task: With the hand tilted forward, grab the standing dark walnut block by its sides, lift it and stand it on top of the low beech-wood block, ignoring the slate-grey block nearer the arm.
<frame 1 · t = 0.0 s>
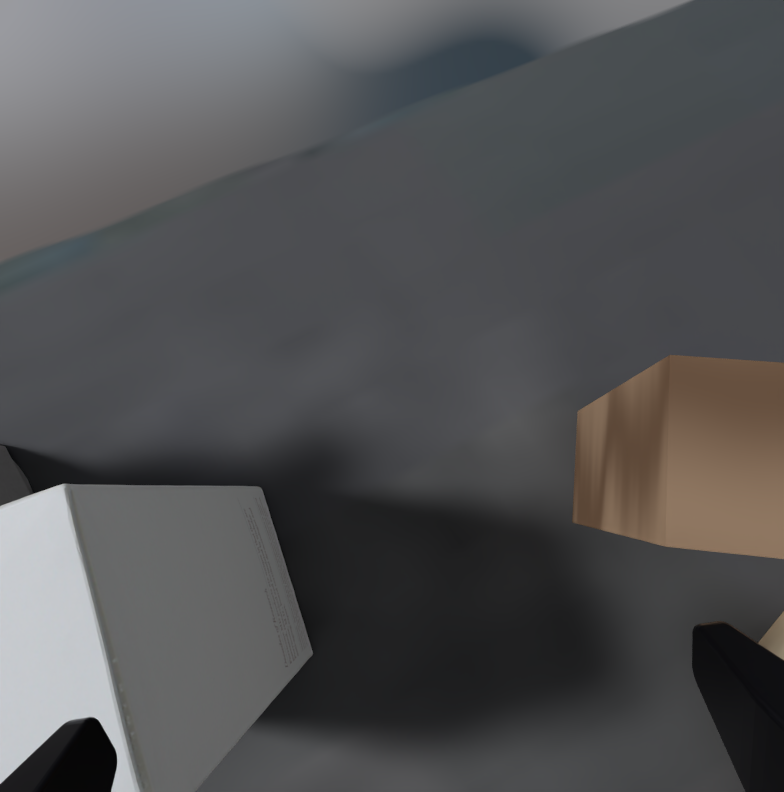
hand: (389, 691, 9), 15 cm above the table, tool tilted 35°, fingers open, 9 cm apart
supplement box: (209, 595, 24), on the table
walnut block: (639, 471, 23), on the table
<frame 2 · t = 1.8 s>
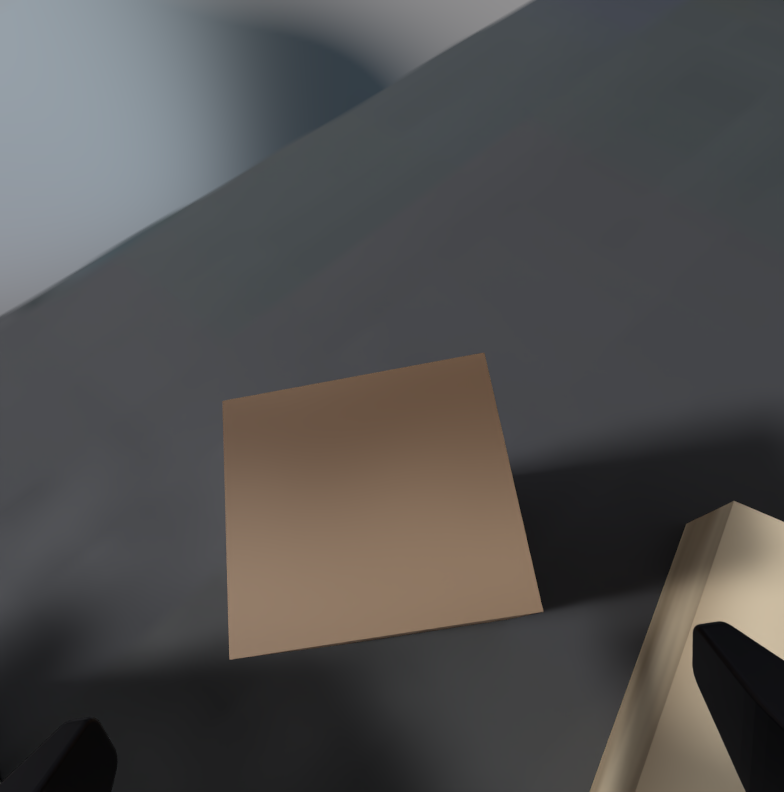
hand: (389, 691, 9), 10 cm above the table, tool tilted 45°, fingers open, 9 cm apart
walnut block: (417, 558, 19), on the table
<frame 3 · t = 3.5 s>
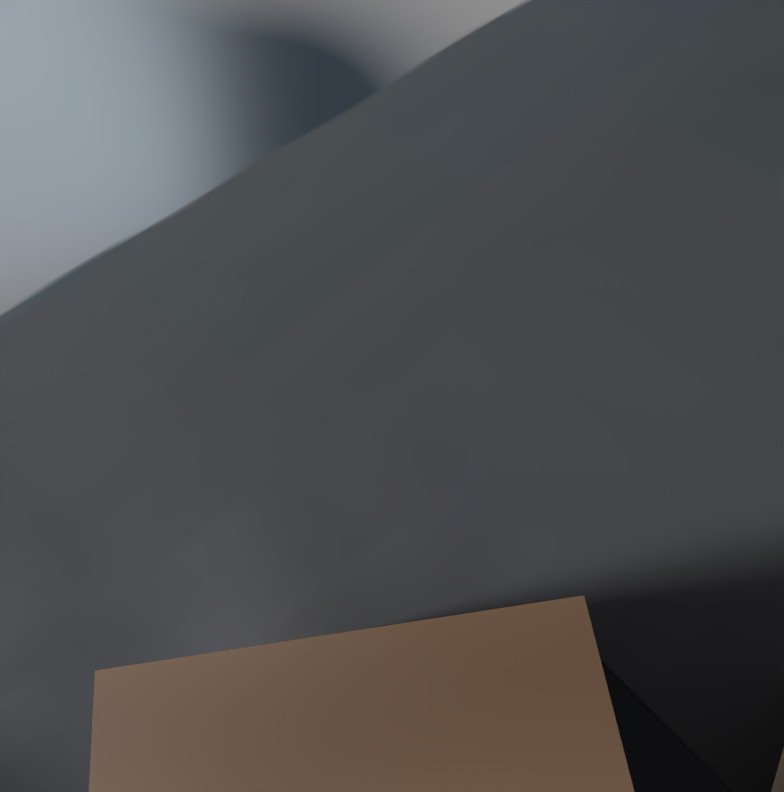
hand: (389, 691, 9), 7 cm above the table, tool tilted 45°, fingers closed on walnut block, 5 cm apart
walnut block: (433, 724, 14), on the table, touching gripper
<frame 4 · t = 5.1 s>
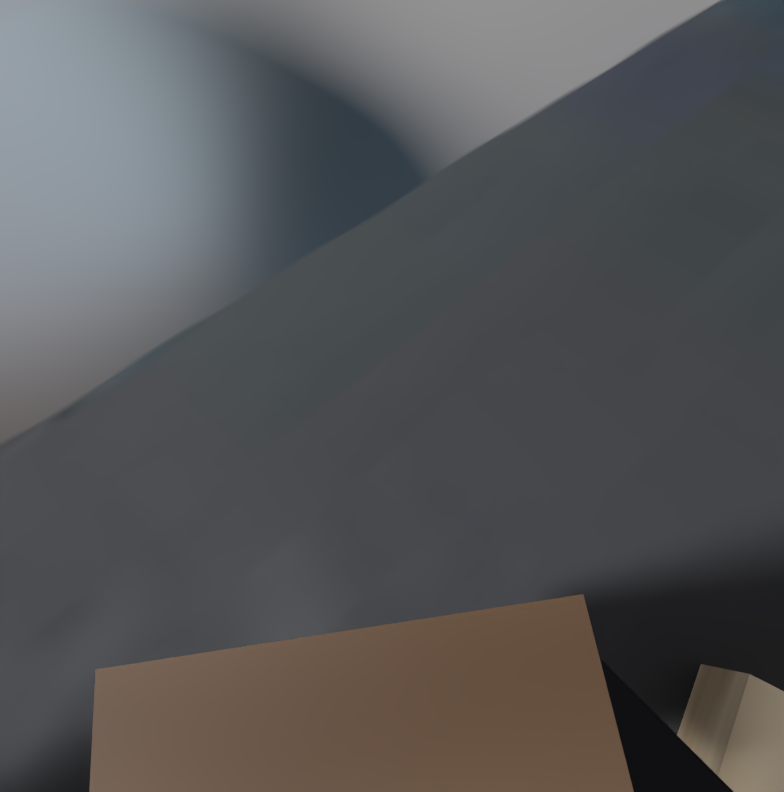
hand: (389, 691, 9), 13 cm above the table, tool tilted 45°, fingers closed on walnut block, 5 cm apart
walnut block: (433, 723, 14), point 6 cm above the table, touching gripper
when the fingers open (12 cm above the table, at t = 7.0 s): walnut block drops 2 cm, resting on beech block.
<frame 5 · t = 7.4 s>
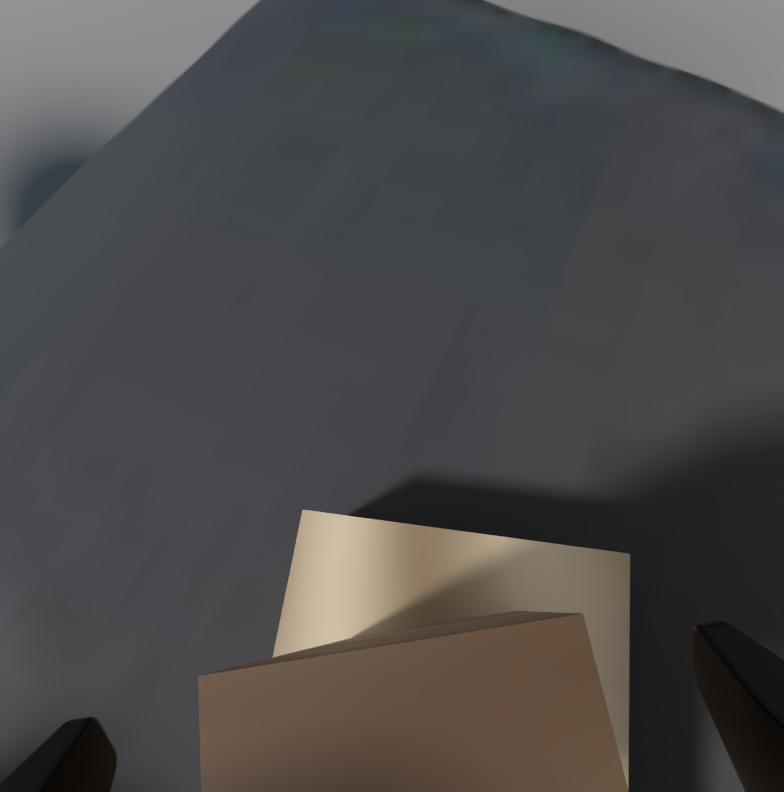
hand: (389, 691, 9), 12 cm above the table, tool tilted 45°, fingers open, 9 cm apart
beech block: (444, 695, 20), on the table, touching walnut block
walnut block: (447, 711, 16), point 4 cm above the table, touching beech block
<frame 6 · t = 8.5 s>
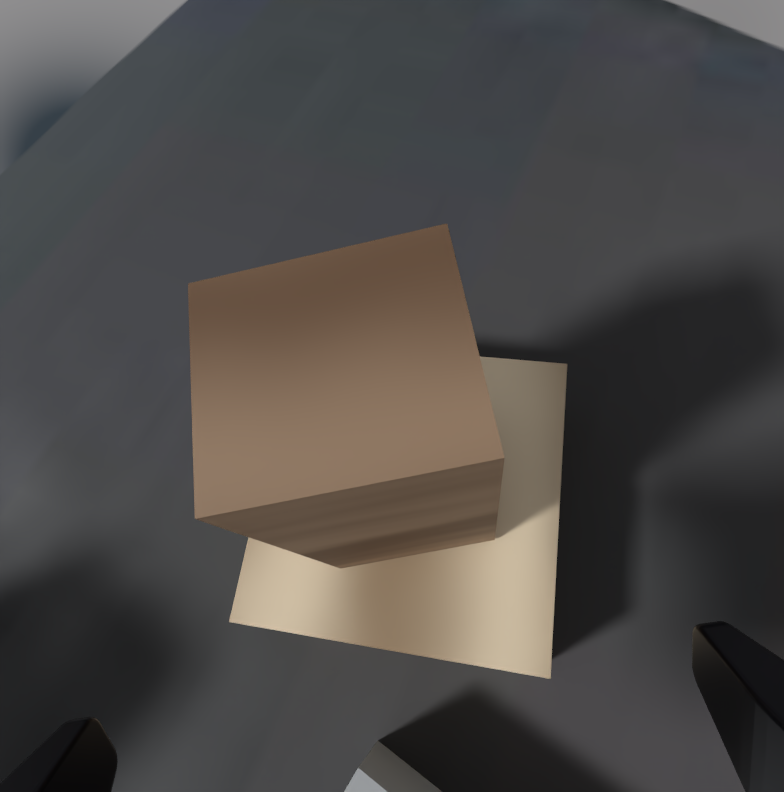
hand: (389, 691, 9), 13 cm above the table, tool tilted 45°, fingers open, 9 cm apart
beech block: (416, 507, 23), on the table
walnut block: (404, 485, 19), point 4 cm above the table
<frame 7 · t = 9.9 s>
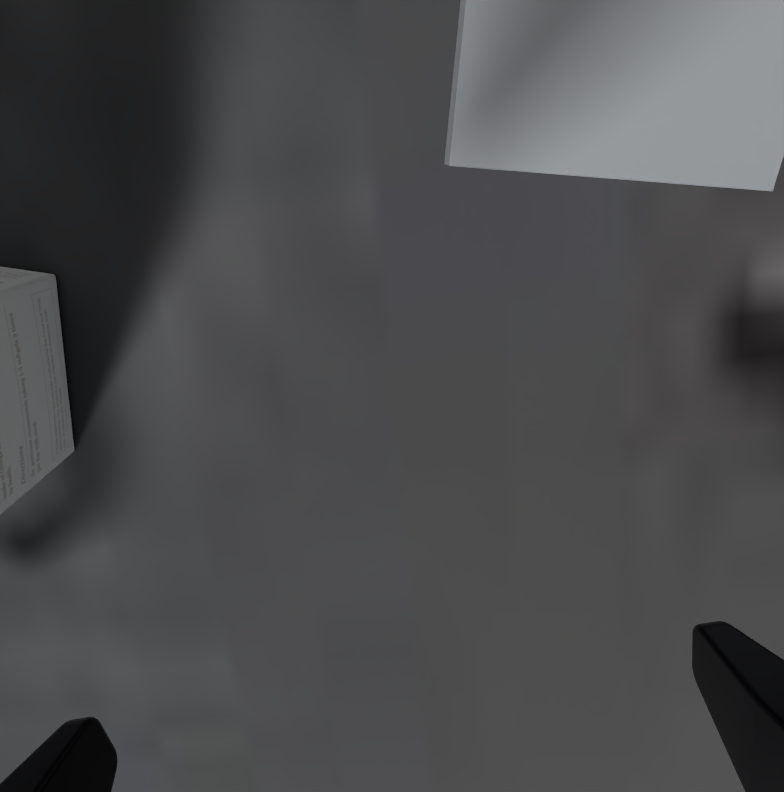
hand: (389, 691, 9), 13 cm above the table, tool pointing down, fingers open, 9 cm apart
slate block: (599, 23, 16), on the table
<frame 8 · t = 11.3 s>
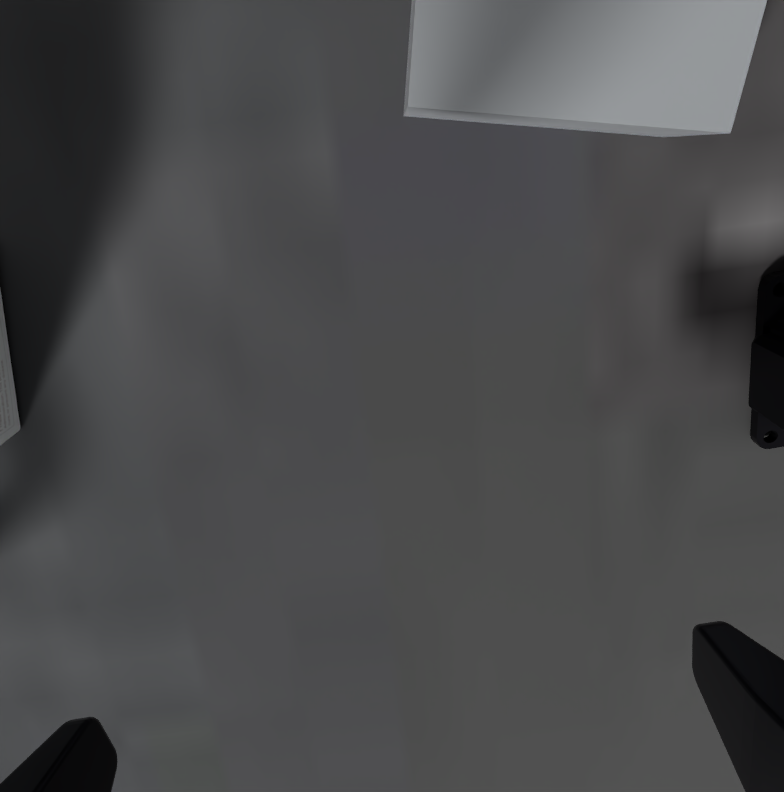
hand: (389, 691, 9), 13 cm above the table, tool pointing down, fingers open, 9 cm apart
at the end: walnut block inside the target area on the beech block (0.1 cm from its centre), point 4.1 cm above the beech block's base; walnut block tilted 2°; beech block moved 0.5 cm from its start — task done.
